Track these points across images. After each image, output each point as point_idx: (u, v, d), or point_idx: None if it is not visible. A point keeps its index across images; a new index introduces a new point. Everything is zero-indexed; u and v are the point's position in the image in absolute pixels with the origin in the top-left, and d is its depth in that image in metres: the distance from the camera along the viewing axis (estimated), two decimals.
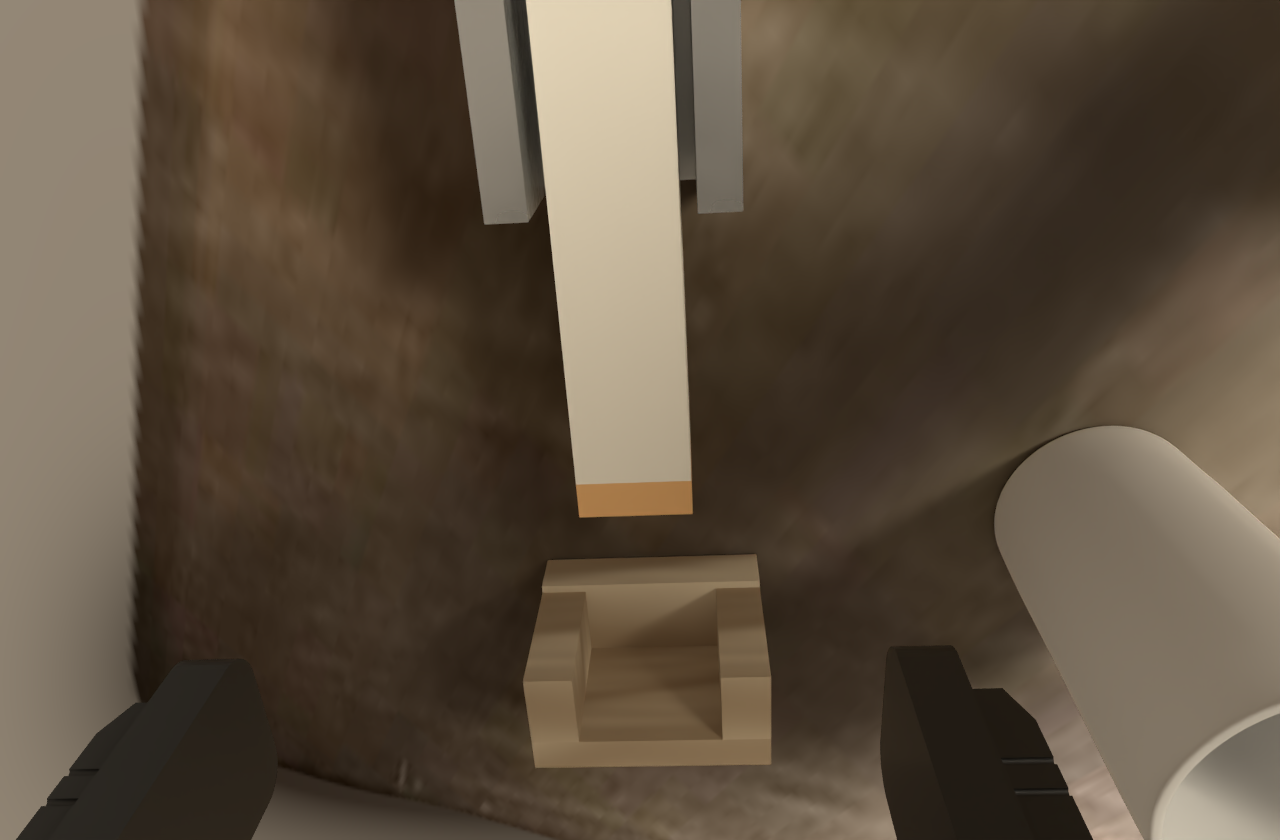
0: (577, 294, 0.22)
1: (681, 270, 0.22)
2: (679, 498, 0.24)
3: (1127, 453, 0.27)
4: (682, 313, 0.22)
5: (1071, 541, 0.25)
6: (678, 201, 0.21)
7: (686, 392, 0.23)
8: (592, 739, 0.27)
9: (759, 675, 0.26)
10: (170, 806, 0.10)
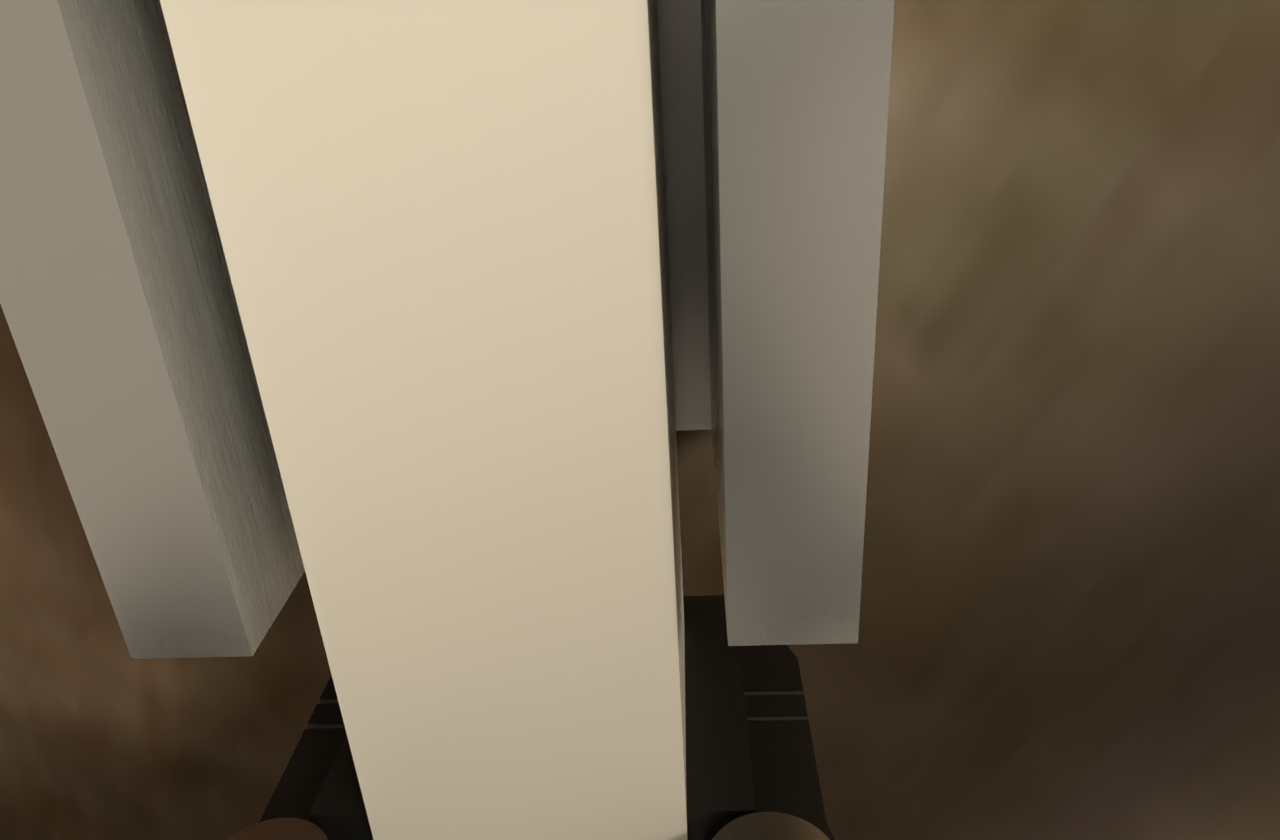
0: (412, 784, 0.09)
1: (680, 744, 0.08)
2: None
3: None
4: (682, 828, 0.09)
5: None
6: (672, 595, 0.08)
7: None
8: None
9: None
10: None
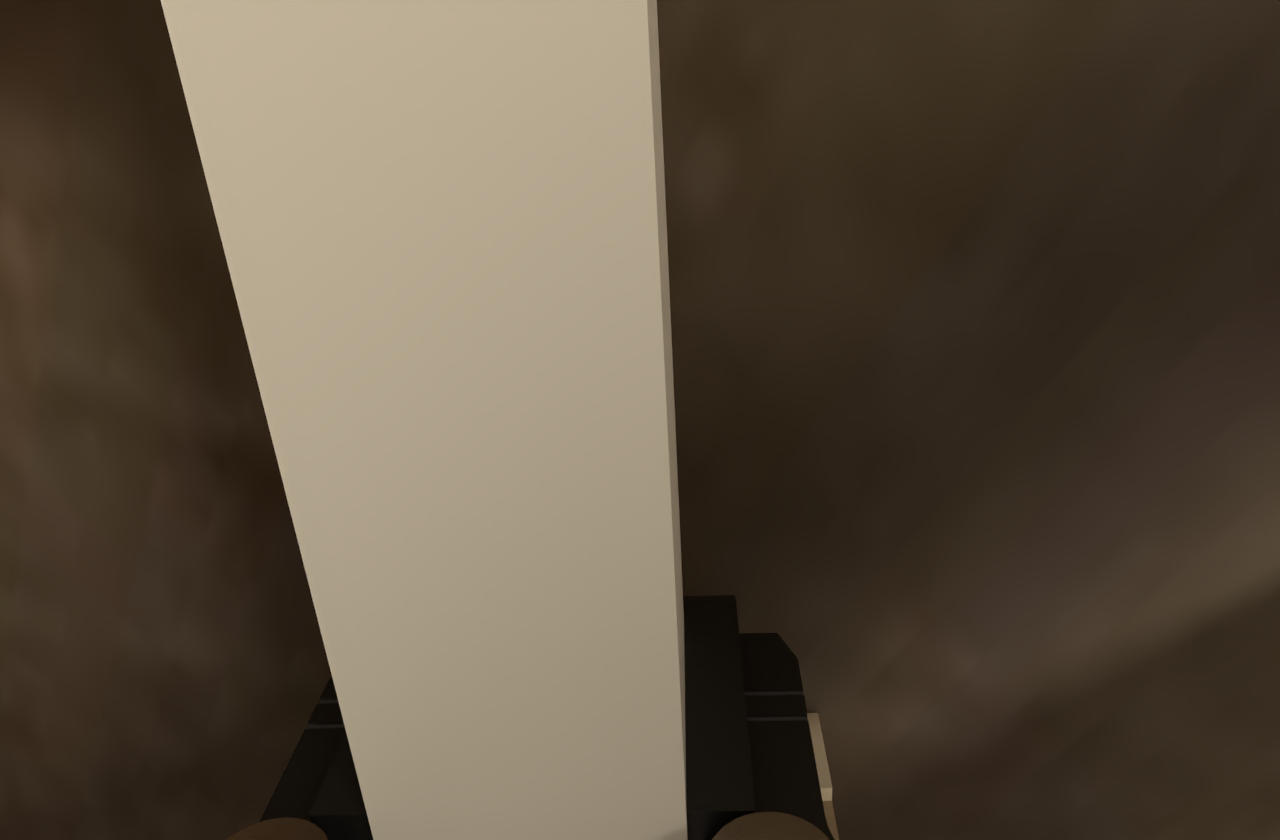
0: (413, 783, 0.09)
1: (680, 743, 0.08)
2: None
3: None
4: (682, 827, 0.09)
5: None
6: (672, 593, 0.08)
7: None
8: None
9: None
10: None
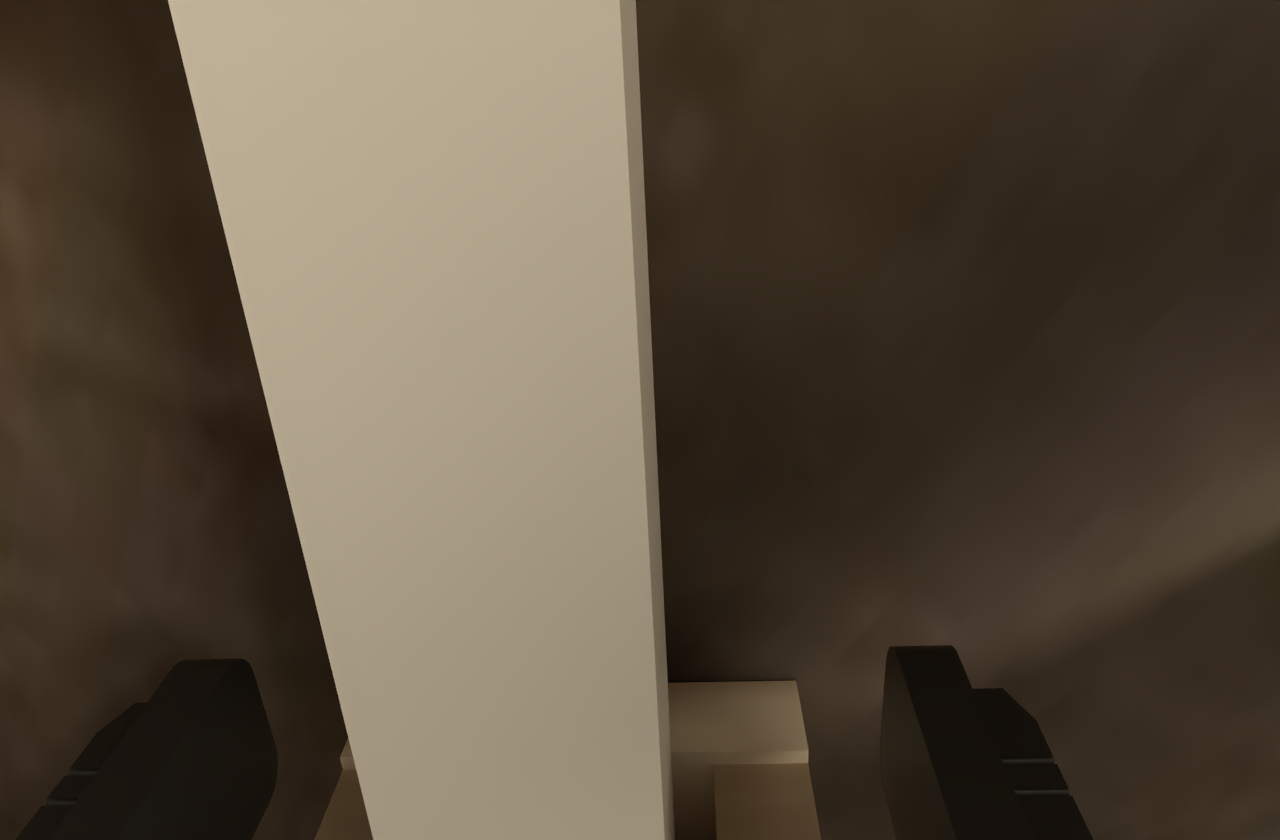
0: (397, 730, 0.09)
1: (654, 689, 0.09)
2: None
3: None
4: (656, 773, 0.09)
5: None
6: (645, 542, 0.08)
7: None
8: None
9: None
10: (170, 806, 0.10)
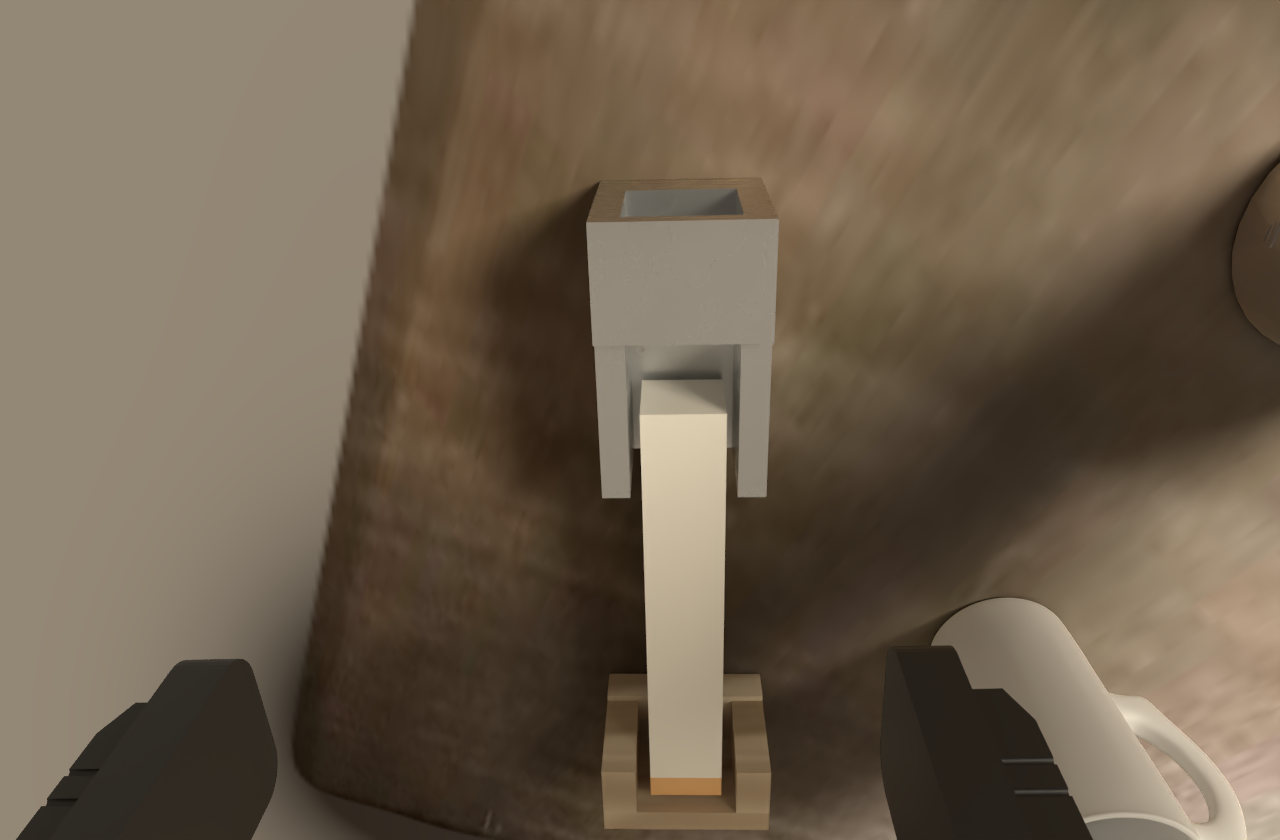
0: (660, 682, 0.37)
1: (722, 674, 0.37)
2: (713, 786, 0.40)
3: (1016, 624, 0.39)
4: (721, 694, 0.37)
5: None
6: (722, 641, 0.36)
7: (721, 733, 0.38)
8: (645, 810, 0.40)
9: (762, 771, 0.38)
10: (170, 806, 0.10)
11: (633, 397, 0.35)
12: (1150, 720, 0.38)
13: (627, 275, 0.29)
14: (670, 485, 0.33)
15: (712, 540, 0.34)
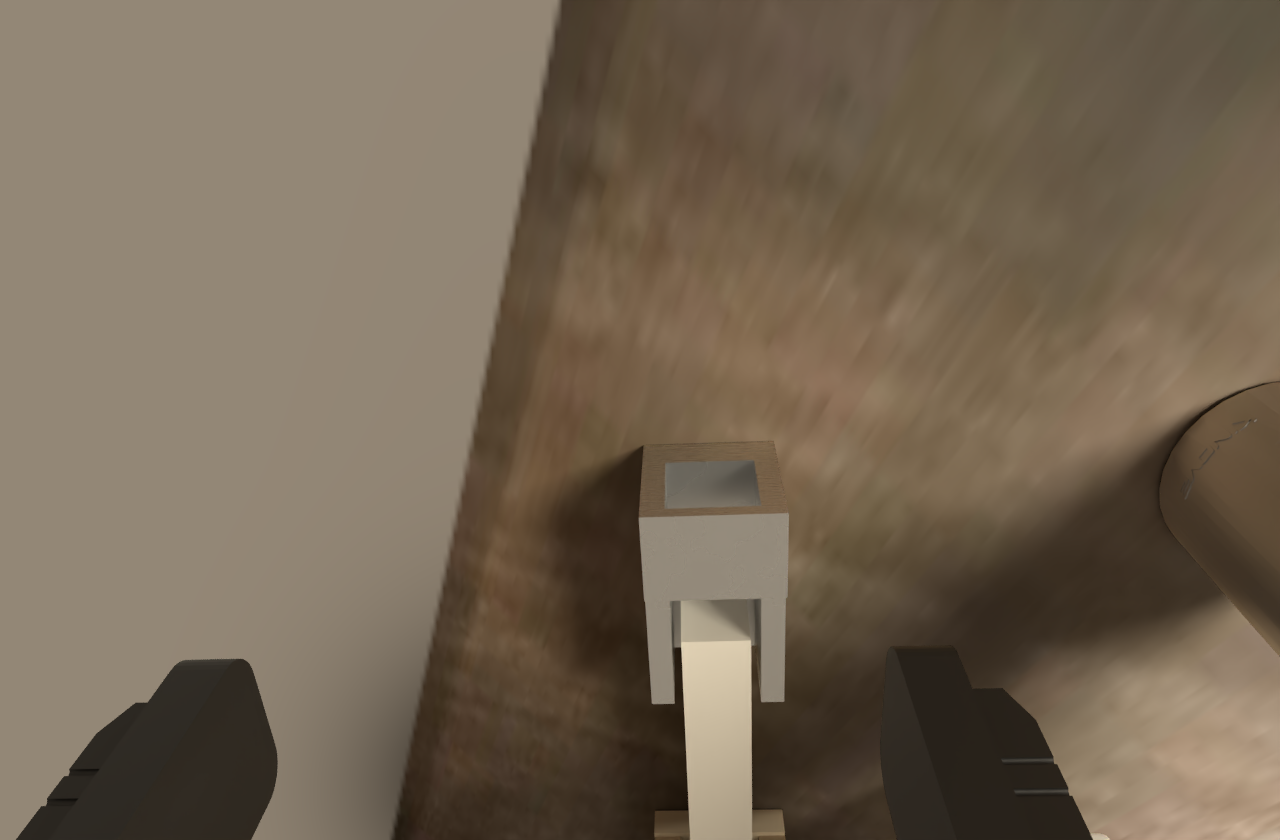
0: (700, 836, 0.45)
1: (751, 829, 0.45)
2: None
3: None
4: None
5: None
6: (751, 805, 0.44)
7: None
8: None
9: None
10: (169, 806, 0.10)
11: (673, 610, 0.44)
12: None
13: (671, 552, 0.37)
14: (706, 692, 0.41)
15: (741, 731, 0.42)
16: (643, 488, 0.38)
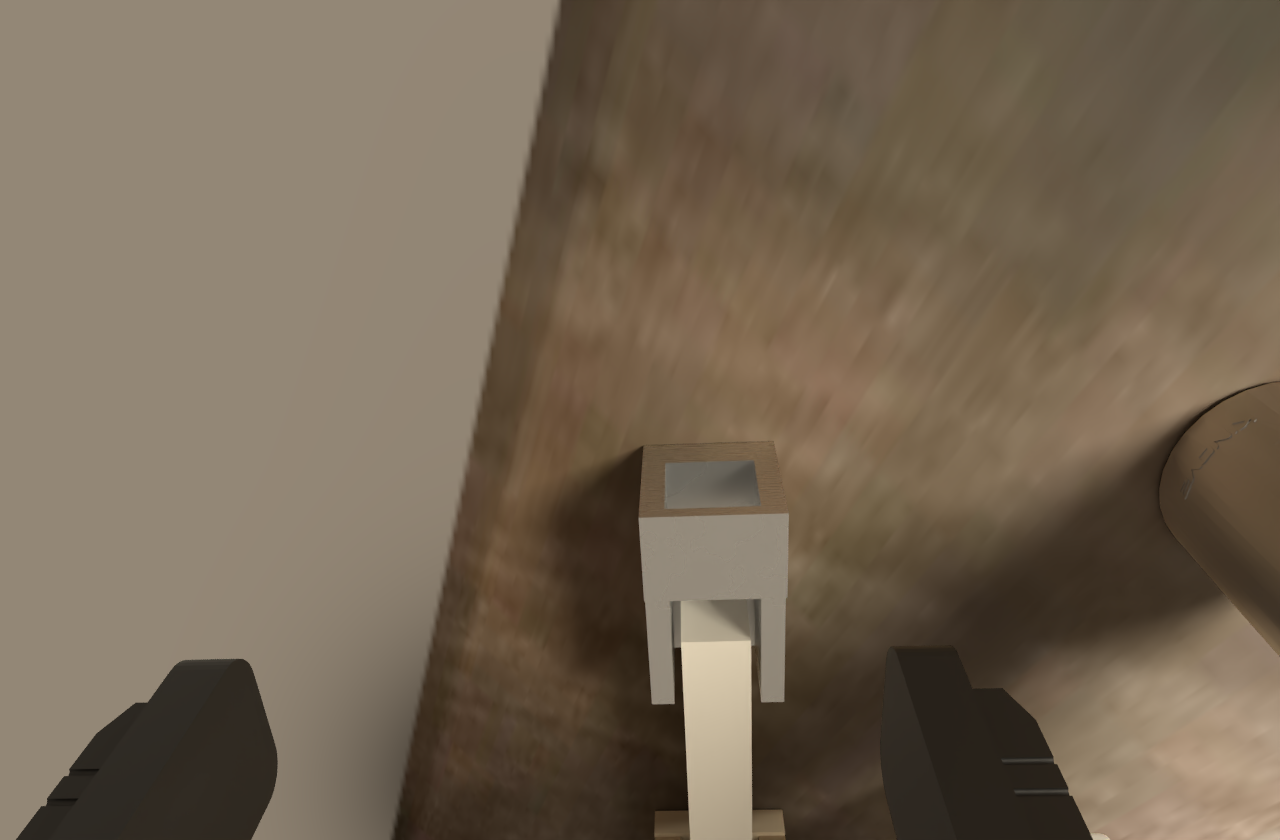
0: (700, 836, 0.45)
1: (751, 829, 0.45)
2: None
3: None
4: None
5: None
6: (751, 805, 0.44)
7: None
8: None
9: None
10: (169, 806, 0.10)
11: (673, 610, 0.44)
12: None
13: (671, 552, 0.37)
14: (706, 692, 0.41)
15: (741, 731, 0.42)
16: (643, 488, 0.38)
